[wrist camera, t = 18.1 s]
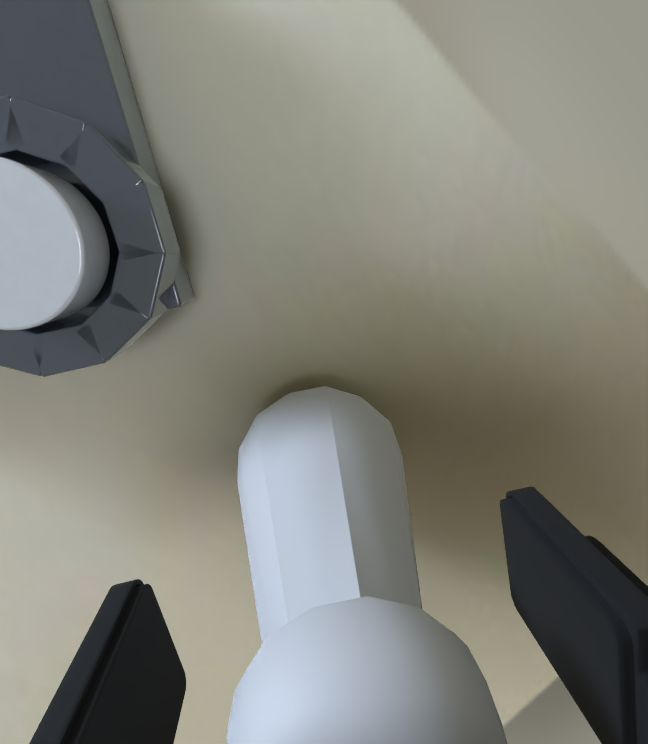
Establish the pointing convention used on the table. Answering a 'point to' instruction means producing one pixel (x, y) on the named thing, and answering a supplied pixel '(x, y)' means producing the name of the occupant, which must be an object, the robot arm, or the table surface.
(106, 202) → the plate
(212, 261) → the table surface
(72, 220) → the flush button
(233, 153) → the table surface
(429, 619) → the salt shaker
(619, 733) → the robot arm
